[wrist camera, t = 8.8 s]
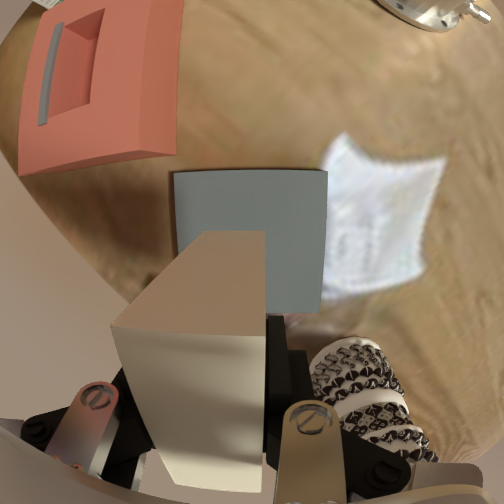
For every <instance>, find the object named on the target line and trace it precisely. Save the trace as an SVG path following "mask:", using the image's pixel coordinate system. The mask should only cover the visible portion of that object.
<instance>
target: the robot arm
mask: <svg viewBox="0 0 504 504" xmlns="http://www.w3.org/2000/svg"><path fill="white" fill-rule="evenodd" d="M377 1H378V2H379V3H380V4H381V5H382V6H384V7H385V8H386V9H388V10H389V11H390V12H392V13H393V14H395V15H397V16H398V17H400V18H401V19H403V20H405V21H407V22H408V23H410V24H412V25H414V26H417V27H419V28H421V29H424V30H428V31H431V32H438V33H441V32H447V31H449V30H451V29H453V28H454V27H456V26H457V24H458V22H459V14H460V13H463V14H465V15H468V14H470V15H472V16H473V17H474V18H476V19H477V20H479V21H481V22H482V23H484V24H487V23H489V21H490V15H489V13H488V12H486V11H485V10H483V9H482V8H480V7H479V6H477V5H474V4H472V3H473V2H474V1H475V0H377ZM151 448H153V449H156V447H155V445H154V443H153V441H152V439H151V437H150V435H149V433H148V430H147V428H146V426H145V424H144V422H143V419H142V417H141V415H140V412H139V410H138V407H137V405H136V403H135V400H134V397H133V395H132V392H131V390H130V387H129V384H128V381H127V379H126V376H125V373H124V370H123V367H122V368H121V369H120V371H119V372H118V374H117V375H116V377H115V378H114V380H113V381H112V383H111V384H110V383H107V382H94V383H90V384H88V385H86V386H84V387H83V388H81V389H80V391H79V392H78V393H77V395H76V396H75V398H74V400H73V402H72V403H71V405H70V406H69V407H65V408H62V409H59V410H55V411H51V412H48V413H44V414H40V415H36V416H33V417H31V418H29V419H28V420H26V421H24V420H17V419H2V418H0V504H188V503H182V502H177V501H172V500H167V499H163V498H159V497H155V496H150V495H147V494H143V493H139V492H138V490H139V485H140V481H141V477H142V472H143V468H144V464H145V460H146V452H148V451H150V450H151ZM263 453H266V461H267V464H268V465H270V466H271V467H272V468H273V469H275V470H276V471H277V473H276V482H275V490H274V499H273V504H497V502H496V501H495V499H494V498H493V497H492V496H491V495H490V494H489V493H488V492H487V491H486V490H484V489H483V488H482V487H483V476H482V472H481V470H480V469H479V467H477V466H476V465H474V464H469V463H436V462H423V461H417V462H416V463H415V464H411V463H408V462H407V461H406V459H405V458H403V457H402V456H400V455H398V454H396V453H393V452H391V451H389V450H387V449H384V448H382V447H380V446H378V445H376V444H373V443H371V442H369V441H367V440H365V439H363V438H361V437H359V436H357V435H355V434H353V433H351V432H349V431H347V430H345V429H343V428H341V427H340V423H339V417H338V414H337V412H336V411H335V409H334V408H333V407H332V406H330V405H328V404H327V403H324V402H321V401H316V400H315V395H314V389H313V384H312V379H311V374H310V369H309V364H308V360H307V355H306V351H305V350H287V342H286V333H285V325H284V317H283V316H268V319H266V345H265V390H264V424H263Z"/></svg>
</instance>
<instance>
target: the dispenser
mask: <svg viewBox="0 0 504 504" xmlns="http://www.w3.org/2000/svg"><path fill="white" fill-rule="evenodd" d="M183 6H184V1H183V0H64V1H63V2H61V3H59V4H57V5H56V6H54V7H52V8H50V9H49V10H47V11H46V12H44V13H43V14H42V17H41V20H40V23H39V26H38V29H37V32H36V35H35V39H34V42H33V46H32V50H31V54H30V58H29V62H28V67H27V72H26V77H25V82H24V88H23V95H22V103H21V111H20V122H19V138H18V177H19V176H27V175H35V174H43V173H53V172H63V171H71V170H76V169H81V168H86V167H91V166H97V165H103V164H109V163H115V162H122V161H129V160H136V159H144V158H152V157H162V156H172V155H176V111H177V80H178V61H179V47H180V35H181V24H182V14H183Z"/></svg>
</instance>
